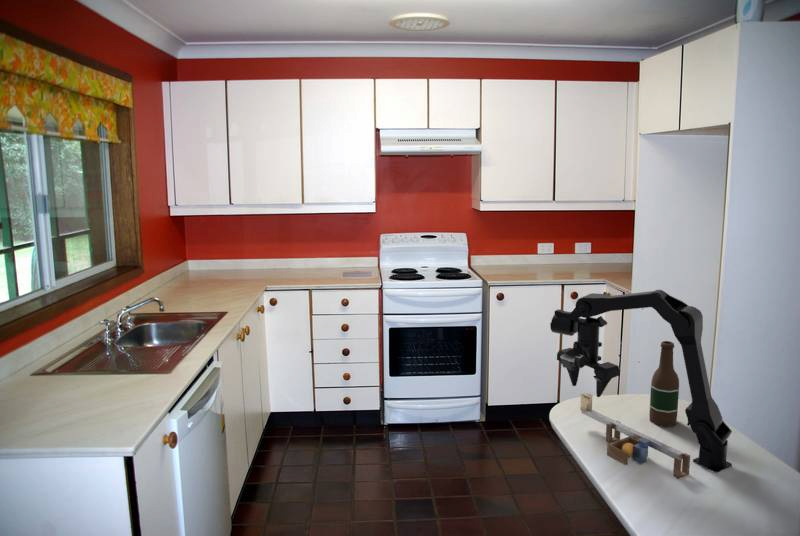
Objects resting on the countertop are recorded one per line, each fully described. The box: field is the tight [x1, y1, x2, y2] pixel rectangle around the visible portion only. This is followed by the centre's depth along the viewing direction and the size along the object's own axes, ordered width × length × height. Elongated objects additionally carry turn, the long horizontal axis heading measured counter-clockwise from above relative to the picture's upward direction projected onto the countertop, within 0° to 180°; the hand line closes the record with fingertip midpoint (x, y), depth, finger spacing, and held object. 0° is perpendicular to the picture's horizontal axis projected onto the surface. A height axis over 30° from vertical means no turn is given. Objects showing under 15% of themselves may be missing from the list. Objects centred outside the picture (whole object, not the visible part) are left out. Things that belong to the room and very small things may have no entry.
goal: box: [606, 436, 649, 466], centre depth 153 cm, size 8×6×3 cm
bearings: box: [605, 420, 691, 480], centre depth 152 cm, size 4×22×5 cm, turn 29°
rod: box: [579, 392, 684, 465], centre depth 156 cm, size 6×32×9 cm, turn 28°
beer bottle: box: [649, 340, 680, 428], centre depth 169 cm, size 8×8×24 cm
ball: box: [622, 443, 633, 458], centre depth 152 cm, size 4×4×4 cm
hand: (586, 391), depth 168 cm, fingers open, 9 cm apart
